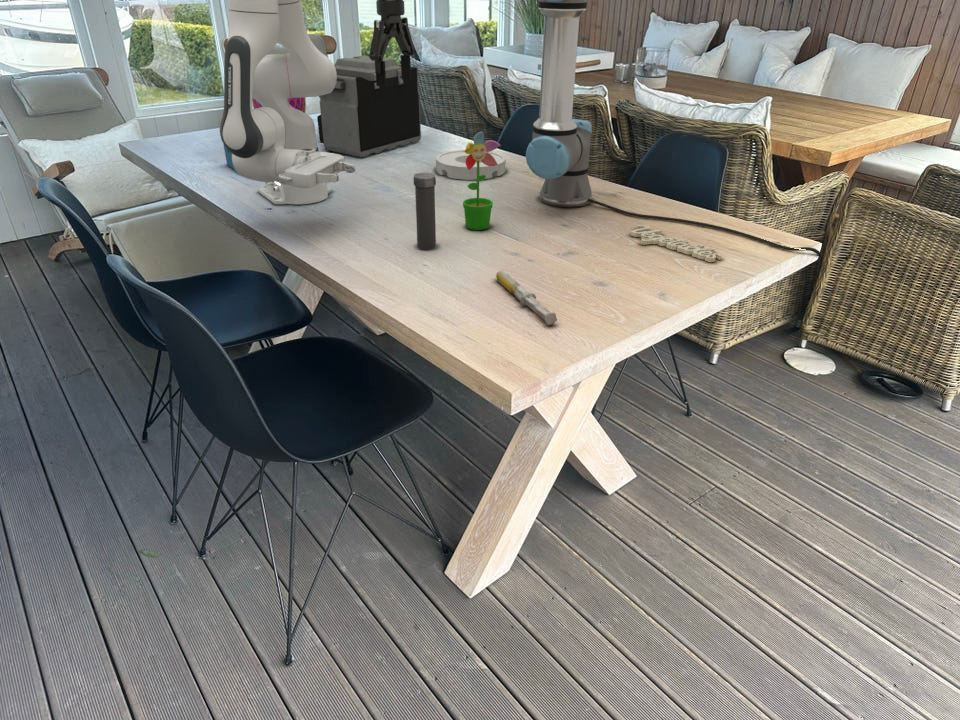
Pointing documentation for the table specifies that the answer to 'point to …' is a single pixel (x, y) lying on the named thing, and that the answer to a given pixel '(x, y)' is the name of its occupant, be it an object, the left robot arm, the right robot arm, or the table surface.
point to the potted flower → (478, 207)
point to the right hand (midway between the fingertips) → (394, 83)
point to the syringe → (525, 297)
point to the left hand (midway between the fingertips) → (345, 173)
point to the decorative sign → (674, 243)
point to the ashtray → (457, 168)
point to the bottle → (425, 217)
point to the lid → (424, 180)
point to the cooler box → (369, 109)
